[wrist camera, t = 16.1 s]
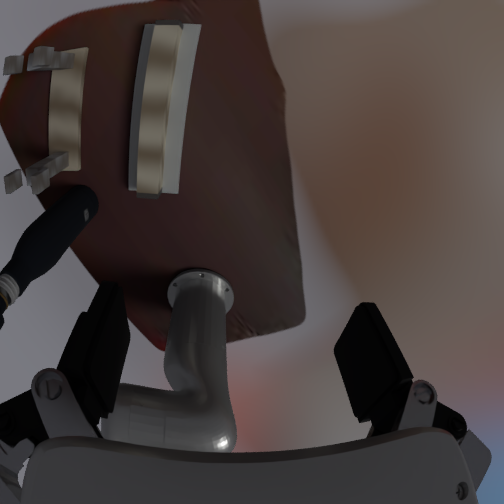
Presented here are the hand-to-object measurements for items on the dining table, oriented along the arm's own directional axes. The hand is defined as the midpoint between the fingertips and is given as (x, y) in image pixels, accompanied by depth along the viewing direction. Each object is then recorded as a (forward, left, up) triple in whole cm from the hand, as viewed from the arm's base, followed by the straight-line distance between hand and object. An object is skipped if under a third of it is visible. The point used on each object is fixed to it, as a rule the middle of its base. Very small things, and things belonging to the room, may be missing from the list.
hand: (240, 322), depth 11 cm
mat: (+5, +11, -33) cm, 35 cm away
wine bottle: (-11, +24, -34) cm, 43 cm away
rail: (+5, +11, -33) cm, 35 cm away
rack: (+5, +27, -33) cm, 43 cm away
